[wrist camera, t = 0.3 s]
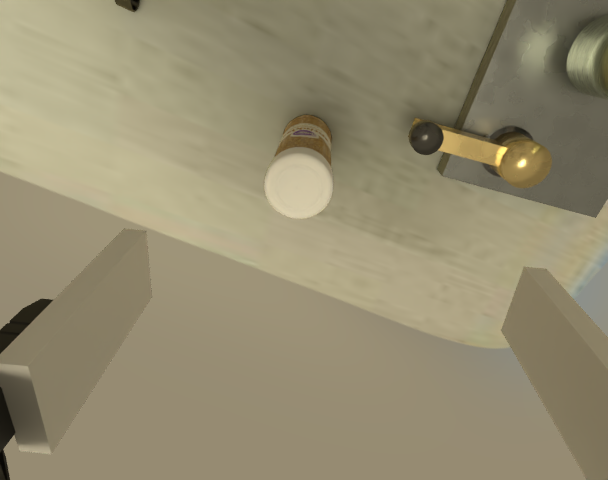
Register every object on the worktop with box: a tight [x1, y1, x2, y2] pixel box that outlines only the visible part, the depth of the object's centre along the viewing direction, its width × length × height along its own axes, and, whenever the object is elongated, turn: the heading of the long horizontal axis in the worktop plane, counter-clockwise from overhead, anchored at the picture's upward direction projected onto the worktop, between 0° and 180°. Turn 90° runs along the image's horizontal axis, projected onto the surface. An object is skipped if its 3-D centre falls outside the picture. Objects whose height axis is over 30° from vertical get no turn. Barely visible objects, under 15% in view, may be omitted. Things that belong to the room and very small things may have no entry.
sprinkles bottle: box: [264, 115, 334, 219], centre depth 34 cm, size 5×5×13 cm
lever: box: [408, 118, 552, 188], centre depth 35 cm, size 4×11×4 cm, turn 75°
